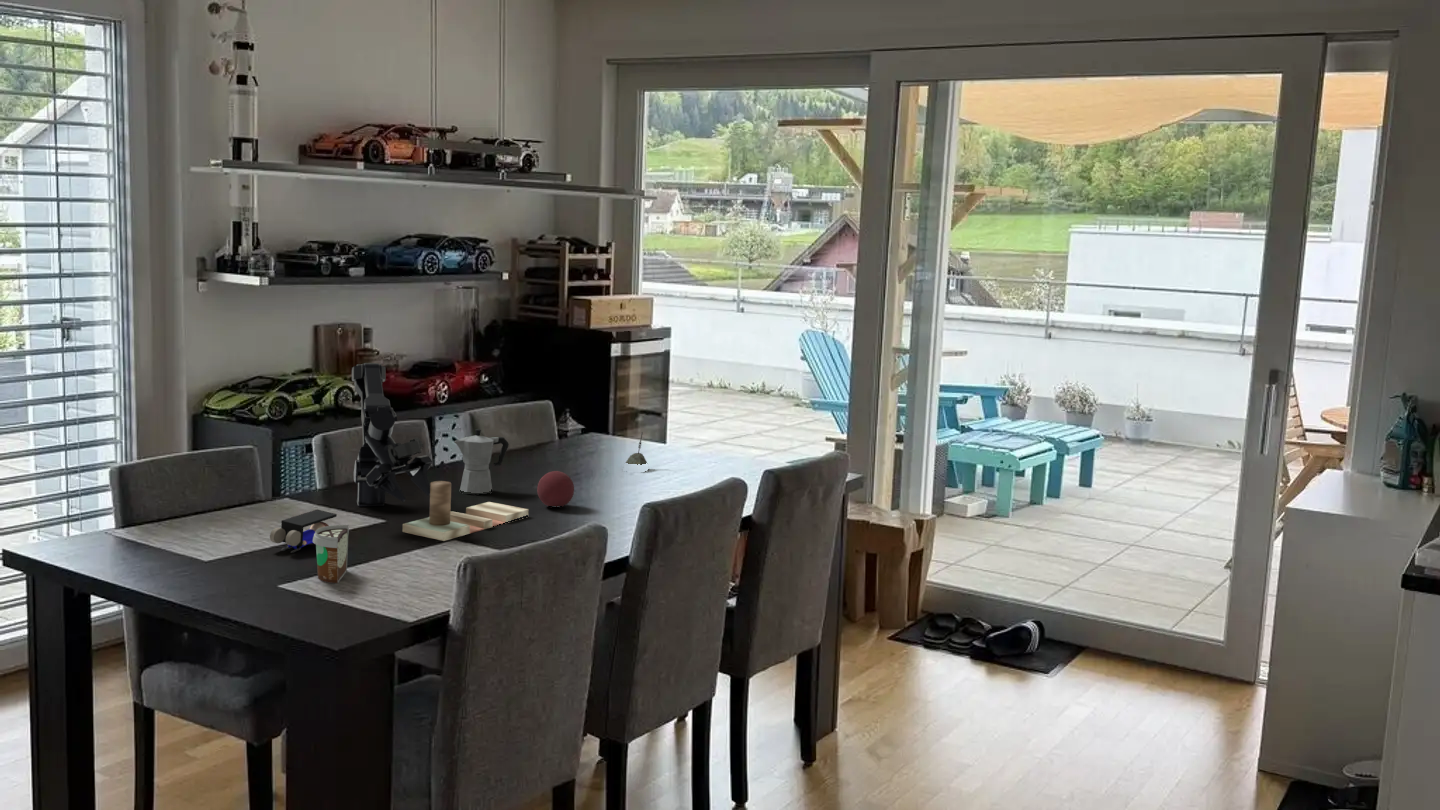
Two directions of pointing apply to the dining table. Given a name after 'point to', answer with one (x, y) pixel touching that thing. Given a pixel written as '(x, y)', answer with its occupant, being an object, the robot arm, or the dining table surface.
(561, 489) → the decorative ball
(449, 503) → the walnut cylinder
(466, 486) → the coffeepot
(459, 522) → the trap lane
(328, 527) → the food container
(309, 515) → the figurine character
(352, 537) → the dining table surface
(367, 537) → the dining table surface
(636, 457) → the sword in stone
